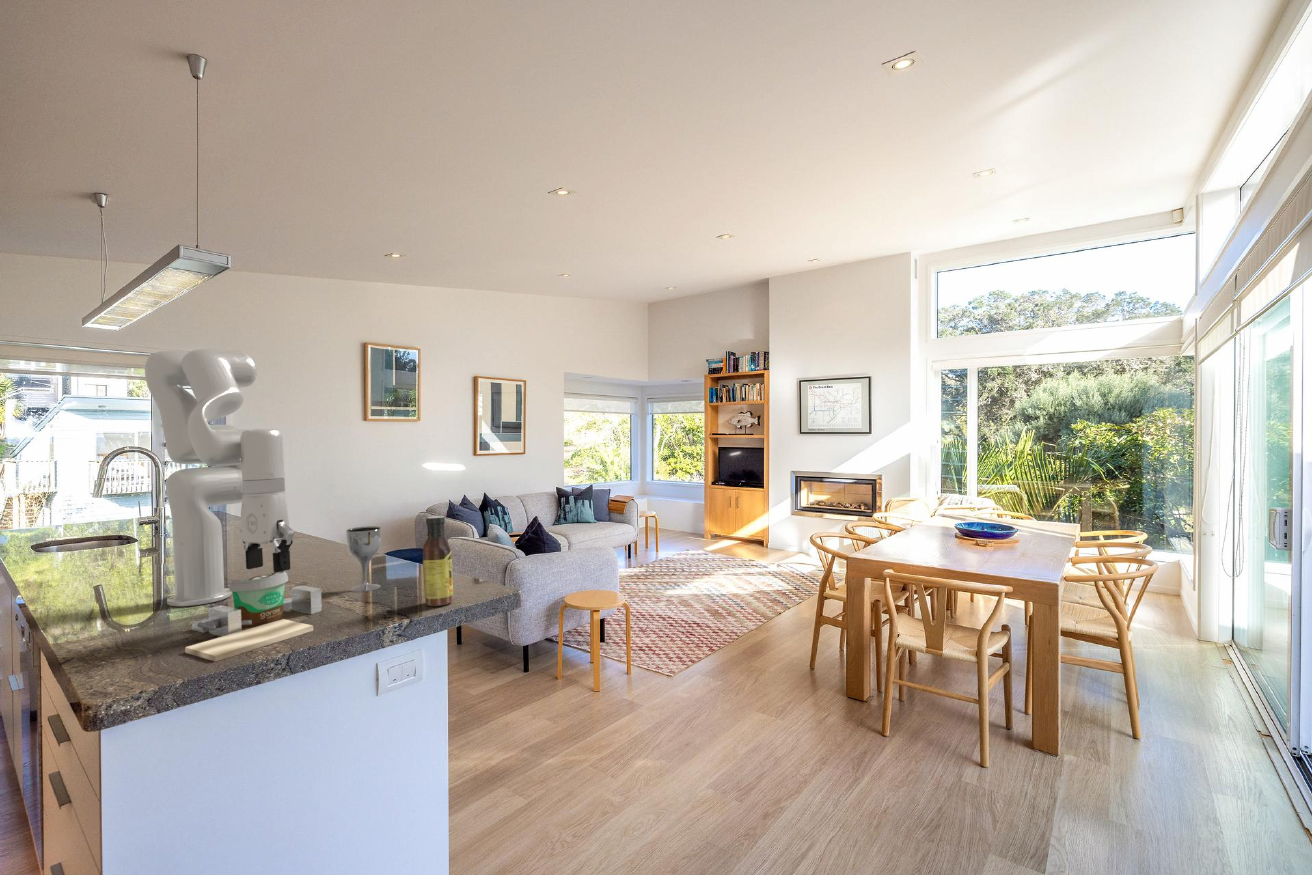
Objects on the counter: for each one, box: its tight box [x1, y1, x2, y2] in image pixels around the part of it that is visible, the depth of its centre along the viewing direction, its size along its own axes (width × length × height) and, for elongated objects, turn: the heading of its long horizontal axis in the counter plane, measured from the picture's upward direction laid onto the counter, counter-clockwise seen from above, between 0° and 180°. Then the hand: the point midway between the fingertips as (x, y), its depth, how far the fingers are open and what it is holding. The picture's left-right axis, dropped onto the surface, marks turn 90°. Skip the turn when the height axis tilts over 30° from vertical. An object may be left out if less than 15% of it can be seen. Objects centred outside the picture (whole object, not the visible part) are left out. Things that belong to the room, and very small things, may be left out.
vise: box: [191, 585, 323, 637], centre depth 132 cm, size 12×22×5 cm, turn 152°
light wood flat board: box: [184, 618, 314, 663], centre depth 120 cm, size 10×18×1 cm, turn 152°
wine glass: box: [345, 525, 382, 593], centre depth 158 cm, size 8×8×15 cm
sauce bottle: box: [422, 515, 454, 607], centre depth 143 cm, size 6×6×20 cm
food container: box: [229, 571, 289, 629], centre depth 132 cm, size 12×6×10 cm, turn 168°
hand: (268, 569), depth 131 cm, fingers open, 9 cm apart
